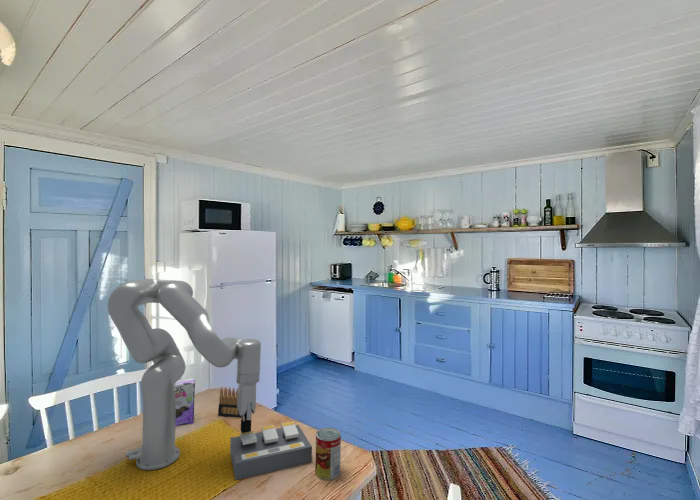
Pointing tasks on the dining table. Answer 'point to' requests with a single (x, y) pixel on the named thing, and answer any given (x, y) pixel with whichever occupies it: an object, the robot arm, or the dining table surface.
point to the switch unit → (269, 454)
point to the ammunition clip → (228, 404)
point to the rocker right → (289, 430)
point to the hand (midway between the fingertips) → (245, 431)
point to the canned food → (328, 453)
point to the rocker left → (248, 437)
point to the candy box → (184, 401)
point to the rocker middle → (269, 434)
